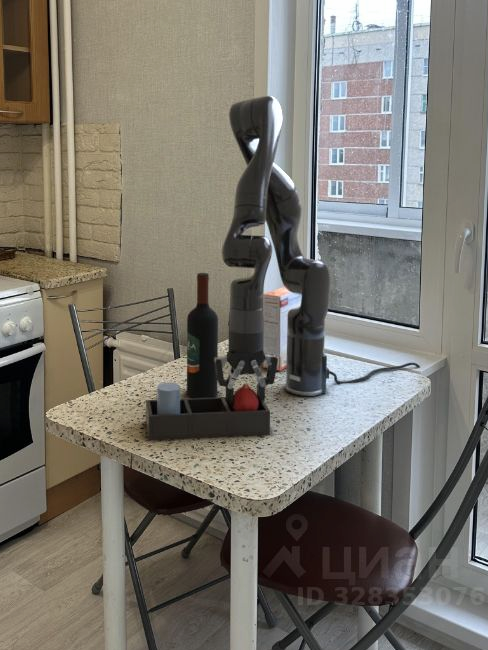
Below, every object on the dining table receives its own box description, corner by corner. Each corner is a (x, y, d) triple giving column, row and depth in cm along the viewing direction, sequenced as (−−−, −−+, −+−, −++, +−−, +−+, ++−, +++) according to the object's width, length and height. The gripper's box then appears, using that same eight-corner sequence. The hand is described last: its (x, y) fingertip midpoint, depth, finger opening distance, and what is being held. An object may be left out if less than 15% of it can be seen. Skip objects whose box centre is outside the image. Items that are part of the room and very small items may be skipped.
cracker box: (284, 355, 197) (285, 284, 195) (302, 359, 193) (304, 287, 191) (260, 367, 185) (261, 293, 183) (280, 372, 182) (281, 296, 180)
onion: (229, 413, 149) (230, 378, 148) (255, 413, 149) (255, 378, 149) (234, 424, 143) (234, 388, 142) (260, 423, 144) (261, 387, 143)
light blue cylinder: (178, 422, 147) (178, 382, 146) (181, 431, 142) (181, 390, 141) (155, 423, 146) (156, 383, 146) (157, 432, 141) (157, 391, 141)
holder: (259, 417, 151) (260, 395, 151) (269, 434, 142) (270, 411, 142) (145, 422, 148) (145, 400, 148) (148, 440, 139) (148, 416, 139)
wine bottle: (214, 401, 161) (215, 277, 158) (183, 398, 162) (184, 276, 160) (219, 389, 168) (220, 271, 166) (189, 387, 170) (190, 270, 167)
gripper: (216, 333, 140) (215, 411, 141) (283, 330, 141) (282, 408, 143) (210, 323, 147) (209, 398, 149) (274, 321, 149) (273, 395, 150)
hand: (245, 402), depth 146 cm, fingers closed on onion, 5 cm apart
